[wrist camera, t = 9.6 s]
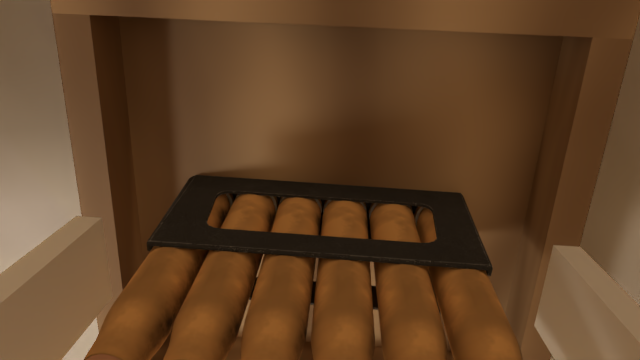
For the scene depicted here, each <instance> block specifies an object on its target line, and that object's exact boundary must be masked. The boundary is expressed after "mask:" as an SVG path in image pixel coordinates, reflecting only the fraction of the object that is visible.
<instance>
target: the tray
mask: <svg viewBox="0 0 640 360" xmlns="http://www.w3.org/2000/svg"><path fill="white" fill-rule="evenodd" d="M50 2H51V9H52V16H53V23H54V30H55V36H56V43H57V50H58V57H59V64H60V70H61V77H62V84H63V91H64V98H65V105H66V111H67V118H68V125H69V132H70V139H71V145H72V152H73V159H74V166H75V173H76V180H77V186H78V193H79V200H80V207H81V214H82V217H98V218H102V223H103V230H104V238H105V246H106V253H107V261H108V269H109V276H110V284H111V292H112V298H111V299H110V301H109V302H108V303H107V304H106V306H105V307H104V308H103V309H102V310H101V312H100V313H99V314H98V315H97V323H98V329H99V332H100V329H101V327H102V324H103V322H104V319H105V317H106V315H107V314H108V312H109V310H110V308H111V307H112V305H113V304H114V302H115V301H116V299H117V298H118V297H119V295H120V294H121V292H122V291H123V289H124V288H125V287H126V285H127V284H128V282H129V281H130V280H131V278H132V277H133V275H134V274H135V273H136V271H137V270H138V268H139V267H140V265H141V264H142V263H143V261H144V260H145V258H146V257H147V256H148V254H149V253H150V251H147V241H148V239H149V238H150V236H151V235H152V233H153V232H154V230H155V229H156V227H157V226H158V224H159V223H160V221H161V220H162V218H163V217H164V215H165V214H166V212H167V211H168V209H169V208H170V206H171V205H172V203H173V202H174V200H175V199H176V197H177V196H178V194H179V193H180V191H181V190H182V188H183V187H184V185H185V184H186V182H187V181H188V179H189V178H190V177H192V176H194V175H205V176H220V177H235V178H250V179H265V180H279V181H294V182H309V183H324V184H339V185H353V186H368V187H383V188H398V189H413V190H427V191H442V192H457V193H461V194H462V195H463V197H464V199H465V202H466V204H467V206H468V209H469V211H470V214H471V216H472V219H473V221H474V224H475V226H476V228H477V231H478V233H479V236H480V238H481V240H482V243H483V245H484V248H485V250H486V252H487V255H488V257H489V259H490V262H491V264H492V267H493V270H492V274H491V276H488V277H489V280H490V282H491V284H492V286H493V288H494V291H495V293H496V295H497V297H498V299H499V302H500V304H501V306H502V308H503V310H504V313H505V315H506V317H507V319H508V321H509V324H510V326H511V328H512V330H513V332H514V335H515V337H516V339H517V341H518V344H519V346H520V349H521V353H522V358H523V360H550V357H551V353H550V351H549V350H548V348H547V346H546V345H545V343H544V341H543V340H542V338H541V336H540V334H539V333H538V331H537V329H536V328H535V326H534V324H535V320H536V316H537V312H538V307H539V303H540V299H541V295H542V291H543V286H544V282H545V278H546V274H547V270H548V265H549V261H550V257H551V253H552V249H553V245H559V246H576V247H579V246H580V242H581V238H582V234H583V230H584V227H585V223H586V219H587V215H588V211H589V207H590V204H591V200H592V196H593V192H594V188H595V184H596V180H597V177H598V173H599V169H600V165H601V161H602V157H603V154H604V150H605V146H606V142H607V138H608V134H609V130H610V127H611V123H612V119H613V115H614V111H615V107H616V104H617V100H618V96H619V92H620V88H621V84H622V80H623V77H624V73H625V69H626V65H627V61H628V57H629V54H630V50H631V46H632V42H633V38H634V34H635V30H636V27H637V23H638V19H639V15H640V0H50ZM153 247H154V246H153ZM263 257H264V254H263ZM263 257H262V260H261V263H260V266H259V270H258V273H257V276H256V277H258V274H259V271H260V267H261V264H262V261H263ZM317 268H318V258H316V263H315V271H314V279H313V281H316V278H317ZM370 270H371V286H376V281H375V271H374V262H370ZM485 271H486V270H485ZM250 302H251V300H249V301H248V304H247V307H246V311H245V314H244V317H243V320H242V323H241V326H240V329H239V333H238V336H237V339H236V341H235V344H234V346H233V347H232V349H231V351H230V352H229V354H228V356H227V357H226V359H225V360H241V338H242V332H243V327H244V322H245V319H246V315H247V312H248V308H249V305H250ZM313 309H314V305H310V311H309V318H308V326H307V334H306V340H305V344H304V347H303V351H302V353H301V356H300V359H299V360H314V359H313V353H312V347H311V330H312V320H313ZM373 316H374V332H375V350H374V355H373V360H384V357H383V352H382V343H381V333H380V322H379V312H378V310H375V309H373ZM440 317H441V321H442V324H443V328H444V332H445V336H446V341H447V358H448V360H454V358H453V355H452V351H451V348H450V344H449V341H448V337H447V334H446V330H445V327H444V323H443V320H442V316H441V315H440ZM172 329H173V328H172ZM171 333H172V330H171V332H170V334H169V335H168V337H167V339H166V340H165V342H164V343H163V345H162V346H161V347H160V349H159V350H158V351H157V352H156V354H155V355H154V356H153V357H152V358H151V359H150V360H163V359H164V356H165V354H166V352H167V349H168V347H169V343H170V338H171Z"/></svg>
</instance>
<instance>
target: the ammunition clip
mask: <svg viewBox="0 0 640 360" xmlns="http://www.w3.org/2000/svg"><path fill="white" fill-rule="evenodd" d="M153 246H154V247H153ZM147 251H150V253H149V254H148V256H147V257H146V258H145V260H144V261H143V263H142V264H141V265H140V267H139V268H138V270H137V271H136V273H135V274H134V275H133V277H132V278H131V280H130V281H129V282H128V284H127V285H126V287H125V288H124V289H123V291H122V292H121V294H120V295H119V297H118V298H117V299H116V301H115V302H114V304H113V305H112V307H111V308H110V310H109V312H108V314H107V315H106V317H105V319H104V322H103V324H102V327H101V329H100V332H99V334H98V337H97V339H96V341H95V342H94V344H93V346H92V347H91V349H90V350H89V352H88V354H87V355H86V357H85V359H84V360H150V359H151V358H152V357H153V356H154V355H155V354H156V352H157V351H158V350H159V349H160V347H161V346H162V345H163V343H164V342H165V340H166V339H167V337H168V335H169V334H170V332H171V330H172V333H171V338H170V343H169V347H168V349H167V352H166V354H165V356H164V359H163V360H225V359H226V357H227V356H228V354H229V352H230V351H231V349H232V347H233V346H234V344H235V341H236V339H237V336H238V333H239V329H240V326H241V323H242V320H243V317H244V314H245V311H246V307H247V304H248V301H249V300H251V302H250V305H249V308H248V312H247V315H246V319H245V322H244V327H243V332H242V338H241V360H299V359H300V356H301V353H302V351H303V347H304V344H305V340H306V334H307V326H308V318H309V311H310V305H314V309H313V320H312V330H311V347H312V353H313V359H314V360H373V355H374V350H375V332H374V316H373V309H375V310H378V312H379V322H380V333H381V343H382V352H383V357H384V360H448V358H447V341H446V336H445V332H444V328H443V324H442V321H441V317H440V315H441V316H442V320H443V323H444V327H445V330H446V334H447V337H448V341H449V344H450V348H451V351H452V355H453V358H454V360H523V358H522V353H521V349H520V346H519V344H518V341H517V339H516V337H515V335H514V332H513V330H512V328H511V326H510V324H509V321H508V319H507V317H506V315H505V313H504V310H503V308H502V306H501V304H500V302H499V299H498V297H497V295H496V293H495V291H494V288H493V286H492V284H491V282H490V280H489V277H488V276H491V274H492V270H493V267H492V264H491V262H490V259H489V257H488V255H487V252H486V250H485V248H484V245H483V243H482V240H481V238H480V236H479V233H478V231H477V228H476V226H475V224H474V221H473V219H472V216H471V214H470V211H469V209H468V206H467V204H466V202H465V199H464V197H463V195H462V194H461V193H457V192H442V191H427V190H413V189H398V188H383V187H368V186H353V185H339V184H324V183H309V182H294V181H279V180H265V179H250V178H235V177H220V176H205V175H194V176H192V177H190V178H189V179H188V181H187V182H186V184H185V185H184V187H183V188H182V190H181V191H180V193H179V194H178V196H177V197H176V199H175V200H174V202H173V203H172V205H171V206H170V208H169V209H168V211H167V212H166V214H165V215H164V217H163V218H162V220H161V221H160V223H159V224H158V226H157V227H156V229H155V230H154V232H153V233H152V235H151V236H150V238H149V239H148V241H147ZM263 254H264V257H263ZM262 257H263V261H262V264H261V267H260V271H259V274H258V277H256V276H257V273H258V270H259V266H260V263H261V260H262ZM316 258H318V268H317V278H316V281H313V279H314V271H315V263H316ZM370 262H374V271H375V281H376V286H371V270H370ZM485 270H486V271H485ZM172 328H173V329H172Z"/></svg>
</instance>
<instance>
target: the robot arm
mask: <svg viewBox="0 0 640 360" xmlns="http://www.w3.org/2000/svg"><path fill="white" fill-rule="evenodd" d="M111 298H112V292H111V284H110V276H109V269H108V261H107V253H106V246H105V238H104V230H103V223H102V218H98V217H82V216H76V217H75V218H73V219H72V220H71V221H69V222H68V223H67V224H66V225H64V226H63V227H62V228H60V229H59V230H58V231H56V232H55V233H54V234H52V235H51V236H50V237H48V238H47V239H46V240H44V241H43V242H42V243H41V244H39V245H38V246H37V247H35V248H34V249H33V250H31V251H30V252H29V253H27V254H26V255H25V256H23V257H22V258H21V259H20V260H18V261H17V262H16V263H14V264H13V265H12V266H10V267H9V268H8V269H6V270H5V271H4V272H2V273H1V274H0V360H61V359H62V358H63V357H64V356H65V355H66V353H67V352H68V351H69V350H70V348H71V347H72V346H73V345H74V344H75V342H76V341H77V340H78V339H79V337H80V336H81V335H82V334H83V333H84V331H85V330H86V329H87V328H88V326H89V325H90V324H91V323H92V321H93V320H94V319H95V318H96V317H97V315H98V314H99V313H100V312H101V310H102V309H103V308H104V307H105V306H106V304H107V303H108V302H109V301H110V299H111ZM534 326H535V328H536V329H537V331H538V333H539V334H540V336H541V338H542V340H543V341H544V343H545V345H546V346H547V348H548V350H549V351H550V353H551V355H552V356H553V358H554V360H640V306H639V305H638V304H637V303H636V302H635V301H634V300H633V299H632V298H631V297H630V296H629V295H628V294H627V293H626V292H625V291H624V290H623V289H622V288H621V287H620V286H619V285H618V284H617V283H616V282H615V281H614V280H613V279H612V278H611V277H610V276H609V275H608V274H607V273H606V272H605V271H604V270H603V269H602V268H601V267H600V266H599V265H598V264H597V263H596V262H595V261H594V260H593V259H592V258H591V257H590V256H589V255H588V254H587V253H586V252H585V251H584V250H583V249H582V248H581V247H576V246H559V245H553V249H552V253H551V257H550V261H549V265H548V270H547V274H546V278H545V282H544V286H543V291H542V295H541V299H540V303H539V307H538V312H537V316H536V320H535V324H534Z"/></svg>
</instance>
